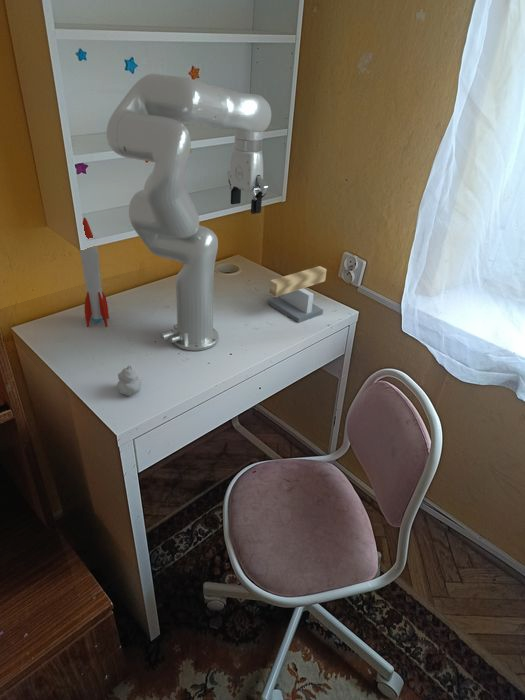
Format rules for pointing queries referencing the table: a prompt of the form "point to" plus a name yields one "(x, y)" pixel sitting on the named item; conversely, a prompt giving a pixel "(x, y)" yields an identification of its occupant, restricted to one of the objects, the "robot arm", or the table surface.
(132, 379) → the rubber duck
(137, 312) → the table surface
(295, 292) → the fulcrum
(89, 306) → the toy rocket
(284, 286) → the rod
